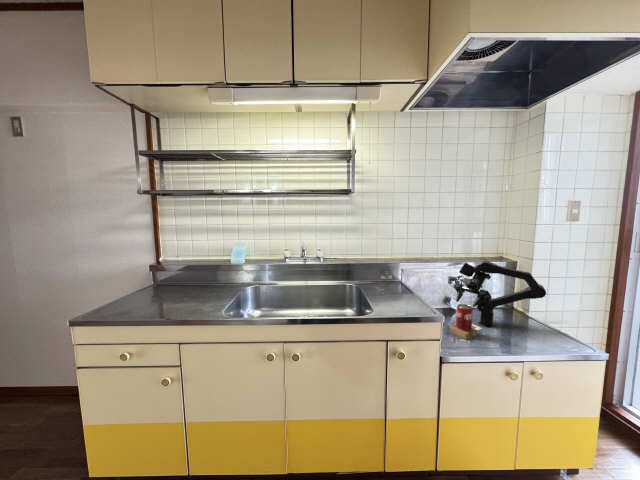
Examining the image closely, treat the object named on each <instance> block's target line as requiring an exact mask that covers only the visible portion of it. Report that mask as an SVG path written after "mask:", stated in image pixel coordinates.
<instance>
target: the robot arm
mask: <svg viewBox="0 0 640 480" xmlns="http://www.w3.org/2000/svg"><path fill="white" fill-rule="evenodd" d="M458 273H459V274H461V275H463V276H466V277H464V278H463V282H462V283H457V282H455V283H454V284H453V286H452V287H453V288H454V290H455V291H456V297H455V302H456V303H458V302H459V301H460V300H461V299H462V297H463V295H464V293H465V292H467V293H471V294H474V295H477V296H476V298H475V300H474V302H473V303H472V308H474V307H476V308H477V311H479V312H480V317H479V318H480V320H479V321H478V322H477V324H479V325H481V326H484V327H486V328H492V327H494V326H496V325H497V324H496V323H494V312H495V311H494V309H496V308H497V307H499V306H503V305H508V304H512V303H515V302H519V301H523V300H527V299H528V300H529V299H530V300H531V299H532V300H534V299H542V298H545V297H546V295H547V291H546V289H545V286H543V285H542V284H540V283H539V282H538V281H537V280H536V279H535V278H534V276H533V275H532V273H531V272H529V271H522V270H519V269H514V268H509V267H505V266H501V265H498V264H496V263H494V262H491V261H489V260H483V261H482V262H481V263H480V264H478V265H475V266H473V265H471V264H469V263H468V262H464V264H463V266H461V268H460V270H459V272H458ZM490 274H496V275H497V274H499V275H502V276H508V277H511V278H516V279H519V280H524V281H525V282H526V284H527V285H528V286H527V287H525V288H524V289H522V290H520V291H516V292H513V293H512V292H511V293H509V294H505V295H501V296H497V297H496V298H494V297H493V298H492V295H491V294H490V292H489V290H485V289H483V287H484V286H483V284H484V282H485V281H486V280H487V281H488V280H490V279H491V278H492V276H491V275H490ZM469 277H472V278H469ZM463 284H464V285H465V287H464V285H463Z"/></svg>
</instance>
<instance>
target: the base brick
mask: <svg viewBox="0 0 640 480" xmlns="http://www.w3.org/2000/svg"><path fill="white" fill-rule="evenodd" d="M449 333H451V334H453V335H455V336H457V337H459V338H461V339H463V340H466V341H467V340H469V339H471V338H474V337H478V330H475V329H473V328H472V329H471V330H470V331H462V330H459V329H458V328H457V327H456V324H454V325H453V326H450V327H449Z"/></svg>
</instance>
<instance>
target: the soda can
mask: <svg viewBox="0 0 640 480" xmlns="http://www.w3.org/2000/svg"><path fill="white" fill-rule="evenodd" d="M473 311H474V307H473V305H470V304H465V303H460V304H458V305H457V306H456V315H455V316H456V321H455V325H456V327H457V328H458V329H459V330H462V331H470V330H471V329H472V324H473V314H474V312H473Z"/></svg>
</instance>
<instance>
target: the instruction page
mask: <svg viewBox="0 0 640 480" xmlns="http://www.w3.org/2000/svg"><path fill="white" fill-rule="evenodd" d="M472 328H473V329H475V330H477V331H481V330H483V327H481V326H478V325H475V324H473V323H472Z"/></svg>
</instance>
